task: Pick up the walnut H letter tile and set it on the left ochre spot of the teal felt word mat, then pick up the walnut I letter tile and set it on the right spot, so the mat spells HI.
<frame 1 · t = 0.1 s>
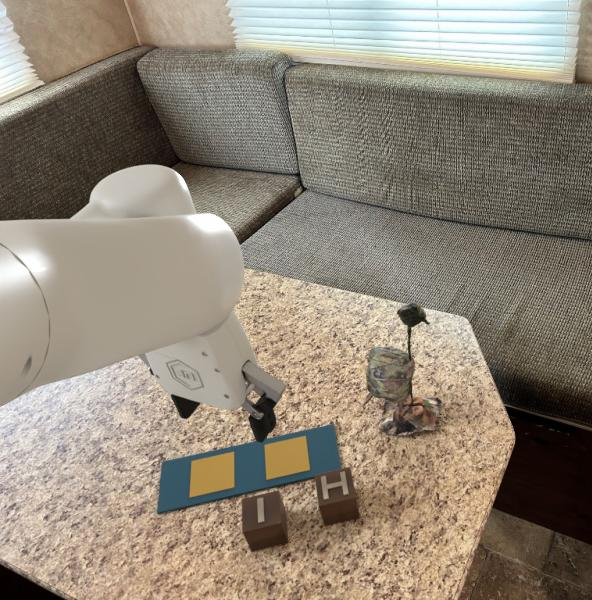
hand: (229, 420, 66), 18 cm above the table, tool pointing down, fingers open, 9 cm apart
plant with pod: (403, 416, 87), on the table
tile I: (269, 530, 75), on the table
word mat: (250, 467, 82), on the table
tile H: (339, 506, 77), on the table
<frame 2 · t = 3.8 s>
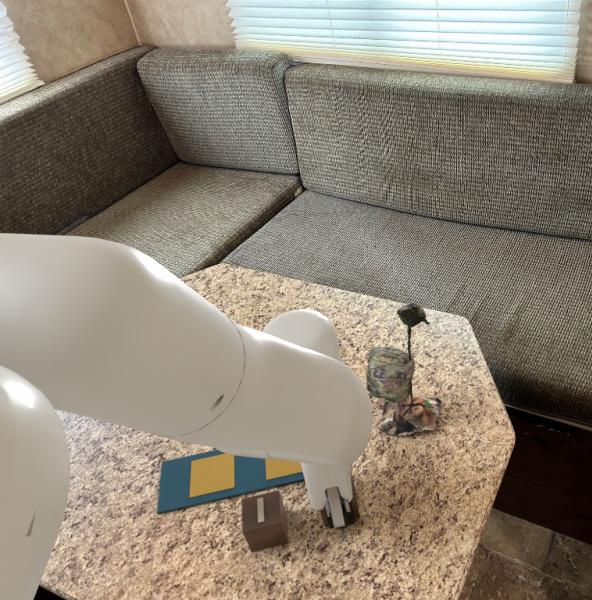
hand: (339, 504, 76), 0 cm above the table, tool pointing down, fingers closed on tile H, 4 cm apart
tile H: (339, 506, 77), on the table, touching gripper
everything else where it was.
when the fingers open (1 cm above the table, at t = 10.5 s): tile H stays where it is, resting on word mat.
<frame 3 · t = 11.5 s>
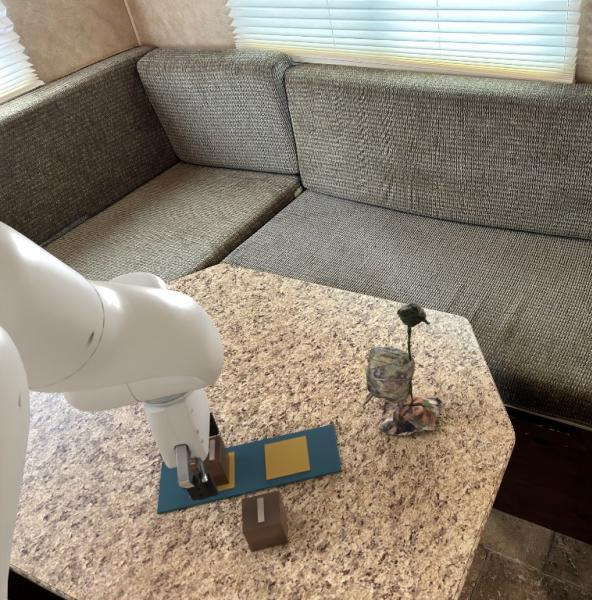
hand: (206, 464, 79), 3 cm above the table, tool pointing down, fingers open, 9 cm apart
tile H: (212, 473, 81), resting on word mat
everything else where it was.
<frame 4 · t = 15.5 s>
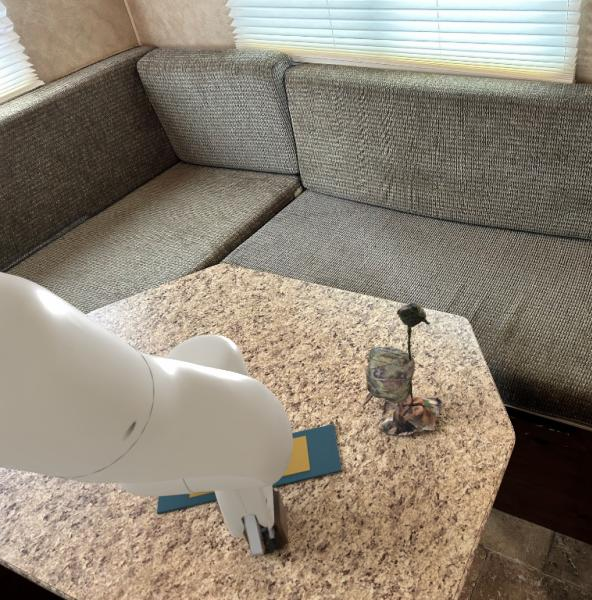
hand: (268, 529, 75), 0 cm above the table, tool pointing down, fingers closed on tile I, 4 cm apart
tile I: (269, 530, 75), on the table, touching gripper
everything else where it was.
when the fingers open (1 cm above the table, at t = 21.5 s): tile I stays where it is, resting on word mat.
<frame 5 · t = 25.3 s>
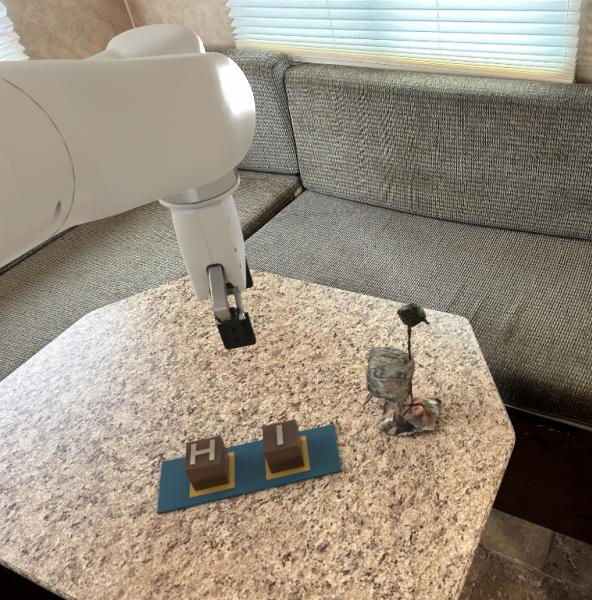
hand: (240, 315, 66), 26 cm above the table, tool pointing down, fingers open, 9 cm apart
tile I: (286, 456, 82), resting on word mat
everything else where it was.
at the end: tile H 0.1 cm from the target spot, point 0.5 cm above the table; tile I 0.1 cm from the target spot, point 0.5 cm above the table; tile I tilted 0° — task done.
